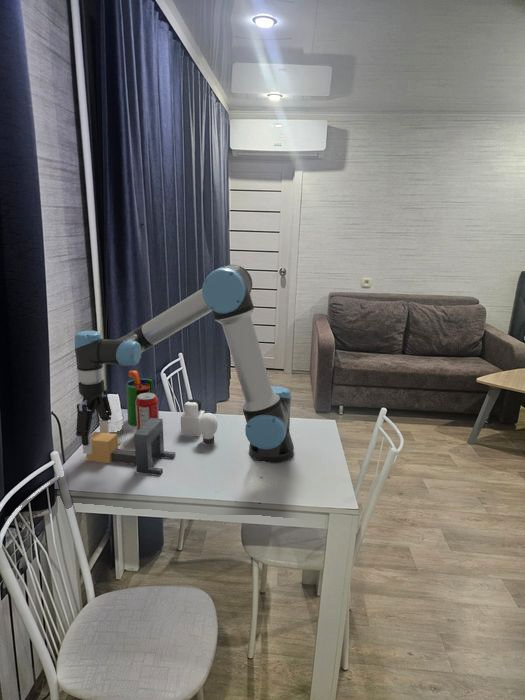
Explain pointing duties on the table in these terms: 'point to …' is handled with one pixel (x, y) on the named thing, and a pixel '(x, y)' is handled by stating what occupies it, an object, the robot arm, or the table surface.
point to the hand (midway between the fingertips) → (96, 445)
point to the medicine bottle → (191, 417)
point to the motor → (135, 394)
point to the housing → (150, 446)
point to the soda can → (146, 408)
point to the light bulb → (208, 427)
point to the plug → (109, 449)
